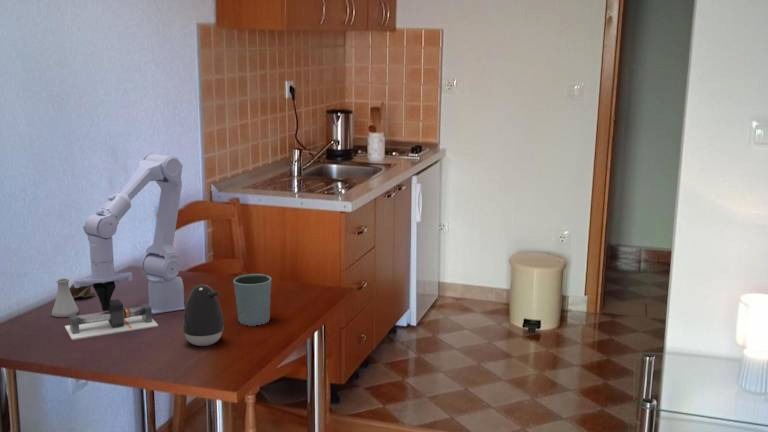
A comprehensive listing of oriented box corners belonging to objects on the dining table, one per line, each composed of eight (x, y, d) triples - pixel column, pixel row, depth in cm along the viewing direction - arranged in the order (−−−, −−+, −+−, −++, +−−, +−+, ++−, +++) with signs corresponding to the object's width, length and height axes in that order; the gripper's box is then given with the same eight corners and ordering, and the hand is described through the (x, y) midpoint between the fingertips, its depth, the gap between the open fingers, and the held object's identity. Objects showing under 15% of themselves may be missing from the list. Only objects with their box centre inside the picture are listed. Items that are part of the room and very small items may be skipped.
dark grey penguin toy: (205, 352, 205) (203, 293, 202) (174, 344, 210) (172, 286, 207) (233, 340, 213) (231, 283, 210) (203, 333, 218) (201, 277, 215)
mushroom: (104, 286, 248) (90, 270, 247) (84, 302, 242) (70, 285, 241) (94, 293, 253) (81, 277, 252) (74, 309, 248) (60, 293, 247)
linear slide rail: (148, 318, 229) (147, 303, 228) (152, 323, 225) (151, 307, 224) (70, 330, 219) (68, 314, 218) (73, 335, 215) (71, 319, 215)
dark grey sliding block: (119, 319, 226) (118, 299, 224) (124, 325, 221) (123, 304, 220) (108, 321, 224) (107, 300, 223) (112, 327, 220) (111, 306, 219)
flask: (69, 319, 228) (67, 284, 226) (45, 317, 230) (43, 282, 228) (84, 311, 235) (82, 277, 233) (61, 309, 237) (58, 275, 235)
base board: (147, 314, 232) (147, 313, 232) (158, 326, 223) (158, 324, 223) (64, 327, 222) (64, 325, 222) (72, 340, 212) (71, 338, 212)
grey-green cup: (279, 320, 229) (278, 278, 226) (250, 329, 221) (249, 286, 219) (256, 312, 235) (255, 271, 233) (227, 321, 228) (225, 278, 226)
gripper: (126, 253, 225) (129, 301, 228) (70, 259, 218) (73, 309, 221) (133, 259, 219) (135, 308, 222) (75, 266, 212) (78, 317, 215)
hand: (105, 309), depth 221 cm, fingers closed
